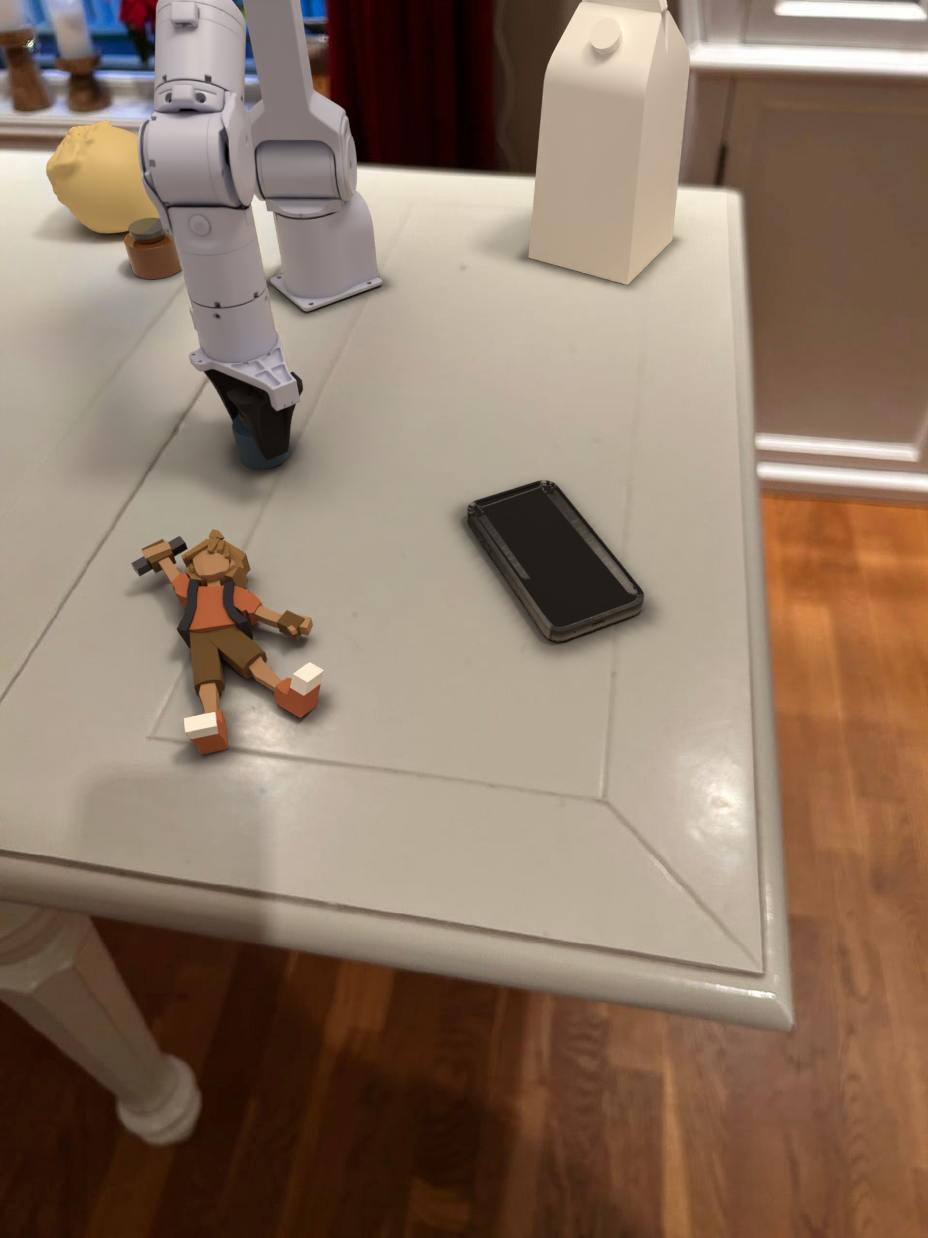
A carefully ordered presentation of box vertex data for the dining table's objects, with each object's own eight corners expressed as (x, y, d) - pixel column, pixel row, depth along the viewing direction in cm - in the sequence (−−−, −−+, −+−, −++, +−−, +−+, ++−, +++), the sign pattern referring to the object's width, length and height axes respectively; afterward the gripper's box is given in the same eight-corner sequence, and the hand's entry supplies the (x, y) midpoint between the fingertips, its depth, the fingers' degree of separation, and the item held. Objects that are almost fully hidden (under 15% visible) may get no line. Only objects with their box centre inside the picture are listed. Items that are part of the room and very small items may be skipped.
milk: (672, 240, 103) (714, -39, 83) (627, 284, 96) (662, -6, 77) (577, 216, 107) (596, -54, 88) (528, 257, 101) (537, -24, 81)
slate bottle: (276, 431, 80) (266, 388, 77) (300, 455, 78) (291, 412, 75) (230, 449, 79) (219, 406, 75) (253, 475, 76) (243, 432, 73)
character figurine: (130, 742, 55) (120, 522, 65) (152, 778, 59) (139, 566, 69) (329, 700, 56) (289, 493, 67) (337, 738, 60) (298, 537, 71)
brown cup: (171, 249, 104) (161, 209, 100) (192, 268, 101) (182, 227, 97) (124, 264, 101) (112, 223, 98) (144, 284, 98) (132, 242, 95)
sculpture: (94, 199, 113) (64, 104, 105) (187, 203, 112) (164, 107, 104) (54, 242, 105) (18, 143, 97) (153, 247, 104) (125, 147, 96)
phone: (550, 476, 73) (650, 599, 64) (549, 487, 74) (648, 610, 65) (461, 504, 71) (550, 635, 62) (461, 515, 72) (550, 646, 63)
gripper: (138, 267, 70) (182, 415, 80) (221, 349, 62) (259, 502, 72) (222, 240, 72) (255, 387, 82) (312, 315, 64) (336, 468, 74)
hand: (262, 439), depth 77 cm, fingers closed on slate bottle, 4 cm apart
